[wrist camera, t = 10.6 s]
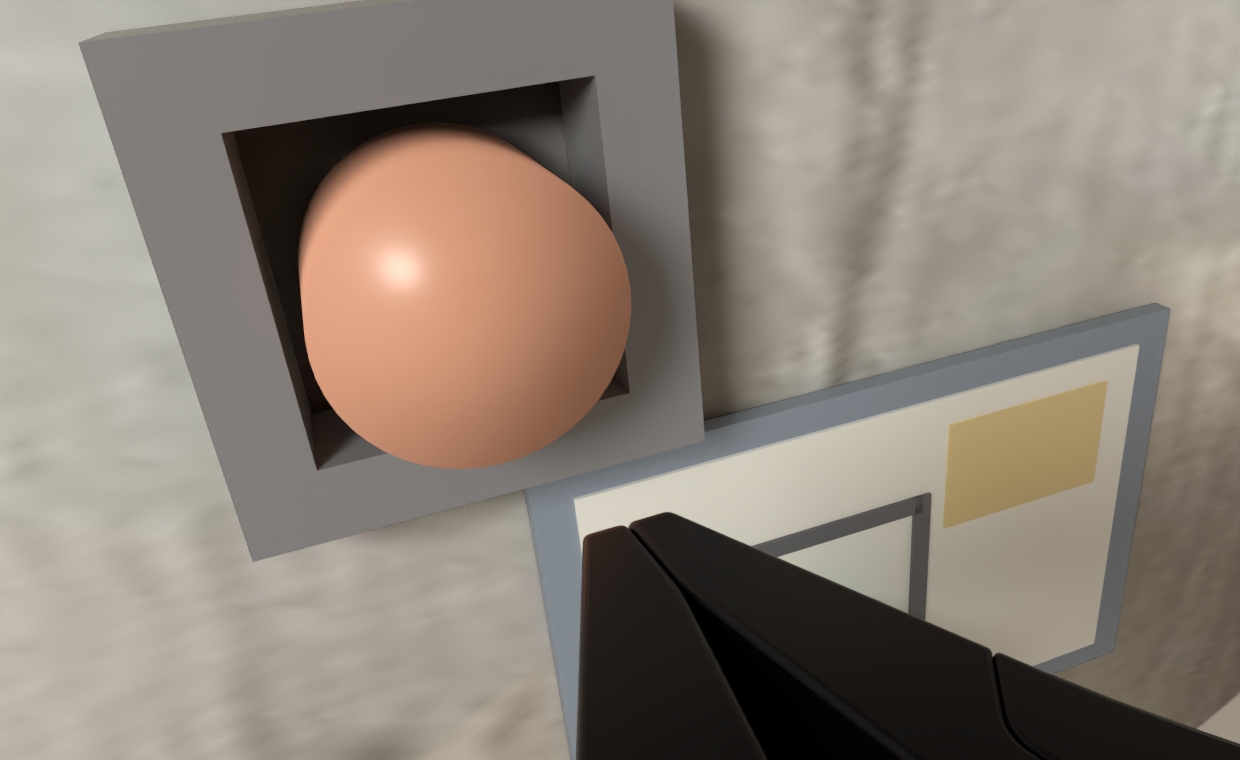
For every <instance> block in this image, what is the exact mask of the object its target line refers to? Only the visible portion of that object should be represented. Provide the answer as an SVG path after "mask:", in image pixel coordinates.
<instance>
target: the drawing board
mask: <svg viewBox="0 0 1240 760" xmlns="http://www.w3.org/2000/svg"><path fill="white" fill-rule="evenodd" d="M1169 314H1170V308H1168V307H1165V306H1162V305H1160V304H1157V303H1153V304H1149V305H1145V306H1141V307H1137V308H1134V309H1130V310H1126V311H1122V312H1118V313H1114V314H1111V315H1107V316H1103V317H1099V318H1095V319H1092V320H1088V321H1084V322H1080V323H1076V324H1072V325H1069V326H1065V327H1061V328H1057V329H1053V330H1050V331H1046V332H1042V333H1038V334H1034V335H1030V336H1027V337H1023V338H1019V339H1015V340H1011V341H1008V342H1004V343H1000V344H996V345H992V346H988V347H985V348H981V349H977V350H973V351H969V352H966V353H962V354H958V355H954V356H950V357H946V358H943V359H939V360H935V361H931V362H927V363H924V364H920V365H916V366H912V367H908V368H904V369H901V370H897V371H893V372H889V373H885V374H881V375H878V376H874V377H870V378H866V379H862V380H859V381H855V382H851V383H847V384H843V385H839V386H836V387H832V388H828V389H824V390H820V391H817V392H813V393H809V394H805V395H801V396H797V397H794V398H790V399H786V400H782V401H778V402H775V403H771V404H767V405H763V406H759V407H755V408H752V409H748V410H744V411H740V412H736V413H733V414H729V415H725V416H721V417H717V418H713V419H710V420H706V421H704V433H705V441H702V442H699V443H695V444H691V445H687V446H684V447H680V448H676V449H673V450H669V451H665V452H661V453H658V454H654V455H650V456H646V457H643V458H639V459H635V460H631V461H628V462H624V463H620V464H617V465H613V466H609V467H605V468H602V469H598V470H594V471H590V472H587V473H583V474H579V475H575V476H572V477H568V478H564V479H561V480H557V481H553V482H549V483H546V484H542V485H538V486H534V487H531V488H527V489H524V491H525V497H526V503H527V509H528V514H529V520H530V526H531V532H532V537H533V543H534V549H535V555H536V560H537V566H538V572H539V578H540V583H541V589H542V595H543V601H544V607H545V612H546V618H547V624H548V630H549V635H550V641H551V647H552V653H553V658H554V664H555V670H556V676H557V681H558V687H559V693H560V699H561V704H562V710H563V716H564V722H565V727H566V733H567V739H568V745H569V750H570V756H571V760H576V735H577V703H578V672H579V641H580V610H581V579H582V548H583V539H584V537H585V536H586V535H588V534H591V533H594V532H598V531H601V530H605V529H608V528H612V527H615V526H619V525H623V526H626V527H627V528H628V527H629V525H630V523H631V522H633V521H636V520H639V519H643V518H646V517H650V516H653V515H656V514H660V513H663V512H671V513H674V514H677V515H679V516H682V517H684V518H686V519H689V520H691V521H693V522H696V523H698V524H700V525H703V526H705V527H707V528H710V529H712V530H714V531H717V532H719V533H721V534H724V535H726V536H728V537H731V538H733V539H735V540H738V541H740V542H742V543H745V544H747V545H750V546H752V547H754V548H757V549H759V550H761V551H764V552H766V553H768V554H771V555H773V556H775V557H778V558H780V559H782V560H785V561H787V562H789V563H792V564H794V565H796V566H799V567H801V568H803V569H806V570H808V571H810V572H813V573H815V574H817V575H820V576H822V577H824V578H827V579H829V580H831V581H834V582H836V583H838V584H841V585H843V586H845V587H848V588H850V589H852V590H855V591H857V592H859V593H862V594H864V595H866V596H869V597H871V598H873V599H876V600H878V601H880V602H883V603H885V604H887V605H890V606H892V607H894V608H897V609H899V610H901V611H904V612H906V613H908V614H911V615H913V616H915V617H918V618H920V619H922V620H925V621H927V622H929V623H932V624H934V625H936V626H939V627H941V628H943V629H946V630H948V631H950V632H953V633H955V634H957V635H960V636H962V637H964V638H967V639H969V640H972V641H974V642H976V643H979V644H981V645H983V646H986V647H988V648H989V649H990V650H991V651H992V655H993V656H994V655H995V654H996V653H1003V654H1005V655H1007V656H1010V657H1012V658H1014V659H1017V660H1019V661H1021V662H1024V663H1026V664H1028V665H1031V666H1033V667H1035V668H1038V669H1040V670H1042V671H1045V672H1047V673H1050V674H1055V673H1057V672H1060V671H1063V670H1065V669H1068V668H1071V667H1073V666H1076V665H1079V664H1081V663H1084V662H1087V661H1089V660H1092V659H1095V658H1097V657H1100V656H1103V655H1105V654H1108V653H1111V652H1113V651H1114V647H1115V641H1116V635H1117V629H1118V623H1119V617H1120V611H1121V605H1122V599H1123V593H1124V587H1125V581H1126V575H1127V569H1128V563H1129V557H1130V550H1131V544H1132V538H1133V532H1134V526H1135V520H1136V514H1137V508H1138V502H1139V496H1140V490H1141V484H1142V478H1143V472H1144V466H1145V460H1146V454H1147V447H1148V441H1149V435H1150V429H1151V423H1152V417H1153V411H1154V405H1155V399H1156V393H1157V387H1158V381H1159V375H1160V369H1161V363H1162V357H1163V351H1164V345H1165V338H1166V332H1167V326H1168V320H1169Z"/></svg>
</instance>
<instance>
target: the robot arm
mask: <svg viewBox="0 0 1240 760" xmlns="http://www.w3.org/2000/svg"><path fill="white" fill-rule="evenodd" d="M576 760H1240V744H1238V743H1235V742H1232V741H1229V740H1226V739H1223V738H1221V737H1218V736H1215V735H1212V734H1209V733H1206V732H1203V731H1200V730H1197V729H1195V728H1192V727H1189V726H1186V725H1183V724H1181V723H1178V722H1175V721H1172V720H1170V719H1167V718H1164V717H1161V716H1159V715H1156V714H1153V713H1150V712H1148V711H1145V710H1142V709H1139V708H1136V707H1134V706H1131V705H1128V704H1125V703H1123V702H1120V701H1117V700H1114V699H1112V698H1109V697H1107V696H1104V695H1102V694H1099V693H1097V692H1094V691H1092V690H1089V689H1087V688H1084V687H1082V686H1080V685H1077V684H1075V683H1072V682H1070V681H1067V680H1065V679H1062V678H1060V677H1057V676H1055V675H1052V674H1050V673H1047V672H1045V671H1042V670H1040V669H1038V668H1035V667H1033V666H1031V665H1028V664H1026V663H1024V662H1021V661H1019V660H1017V659H1014V658H1012V657H1010V656H1007V655H1005V654H1003V653H996V654H995V655H994V656H993V655H992V651H991V650H990V649H989V648H988V647H986V646H983V645H981V644H979V643H976V642H974V641H972V640H969V639H967V638H964V637H962V636H960V635H957V634H955V633H953V632H950V631H948V630H946V629H943V628H941V627H939V626H936V625H934V624H932V623H929V622H927V621H925V620H922V619H920V618H918V617H915V616H913V615H911V614H908V613H906V612H904V611H901V610H899V609H897V608H894V607H892V606H890V605H887V604H885V603H883V602H880V601H878V600H876V599H873V598H871V597H869V596H866V595H864V594H862V593H859V592H857V591H855V590H852V589H850V588H848V587H845V586H843V585H841V584H838V583H836V582H834V581H831V580H829V579H827V578H824V577H822V576H820V575H817V574H815V573H813V572H810V571H808V570H806V569H803V568H801V567H799V566H796V565H794V564H792V563H789V562H787V561H785V560H782V559H780V558H778V557H775V556H773V555H771V554H768V553H766V552H764V551H761V550H759V549H757V548H754V547H752V546H750V545H747V544H745V543H742V542H740V541H738V540H735V539H733V538H731V537H728V536H726V535H724V534H721V533H719V532H717V531H714V530H712V529H710V528H707V527H705V526H703V525H700V524H698V523H696V522H693V521H691V520H689V519H686V518H684V517H682V516H679V515H677V514H674V513H671V512H663V513H660V514H656V515H653V516H650V517H646V518H643V519H639V520H636V521H633V522H631V523H630V525H629V527H628V528H627V527H626V526H623V525H619V526H615V527H612V528H608V529H605V530H601V531H598V532H594V533H591V534H588V535H586V536H585V537H584V539H583V548H582V579H581V610H580V641H579V672H578V703H577V735H576Z"/></svg>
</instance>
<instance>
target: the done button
mask: <svg viewBox="0 0 1240 760" xmlns="http://www.w3.org/2000/svg"><path fill="white" fill-rule="evenodd" d="M298 271H299V282H300V293H301V304H302V314H303V325H304V336H305V343H306V348H307V353H308V358H309V361H310V364H311V367H312V370H313V373H314V376H315V379H316V381H317V383H318V385H319V386H320V388H321V390H322V392H323V394H324V396H325V398H326V399H327V401H328V402H329V403H330V405H331V406H332V407H333V409H334V410H335V412H336V413H337V414H338V415H339V416H340V417H341V418H342V420H343V421H344V422H345V423H346V424H347V425H348V426H349V427H350V428H351V429H352V430H354V431H355V432H356V433H357V434H359V435H360V436H361V437H362V438H364V439H365V440H366V441H368V442H369V443H371V444H373V445H374V446H376V447H378V448H379V449H381V450H383V451H384V452H387V453H389V454H391V455H394V456H396V457H398V458H401V459H403V460H406V461H410V462H413V463H417V464H420V465H424V466H431V467H437V468H446V469H470V468H483V467H488V466H493V465H498V464H503V463H506V462H509V461H512V460H515V459H518V458H522V457H524V456H526V455H528V454H530V453H533V452H535V451H537V450H539V449H541V448H543V447H545V446H546V445H548V444H550V443H551V442H553V441H555V440H556V439H558V438H559V437H560V436H562V435H563V434H564V433H566V432H567V431H568V430H570V429H571V428H572V427H573V426H575V425H576V424H577V423H578V422H579V421H580V420H581V419H582V418H583V417H584V416H585V415H586V414H587V413H588V412H589V411H590V409H591V408H592V407H593V406H594V405H595V404H596V402H597V401H598V400H599V399H600V397H601V396H602V394H603V393H604V391H605V390H606V388H607V387H608V385H609V384H610V382H611V380H612V378H613V376H614V374H615V372H616V370H617V368H618V366H619V363H620V361H621V358H622V355H623V352H624V349H625V346H626V342H627V337H628V333H629V328H630V318H631V289H630V283H629V277H628V271H627V268H626V264H625V261H624V258H623V255H622V252H621V250H620V247H619V245H618V243H617V241H616V239H615V237H614V235H613V233H612V231H611V230H610V228H609V227H608V225H607V224H606V222H605V221H604V219H603V218H602V216H601V215H600V214H599V213H598V212H597V211H596V210H595V208H594V207H593V206H592V205H591V204H590V203H589V202H588V201H587V200H586V199H585V198H584V197H583V196H582V195H580V194H579V193H578V192H577V191H576V190H575V189H573V188H572V187H571V186H569V185H568V184H567V183H565V182H564V181H562V180H561V179H560V178H558V177H557V176H555V175H554V174H553V173H551V172H550V171H548V170H547V169H546V168H544V167H543V166H541V165H540V164H539V163H537V162H536V161H534V160H533V159H532V158H530V157H529V156H527V155H526V154H525V153H523V152H522V151H520V150H519V149H517V148H516V147H514V146H513V145H511V144H510V143H508V142H507V141H505V140H504V139H501V138H499V137H497V136H495V135H493V134H491V133H489V132H486V131H483V130H480V129H477V128H474V127H471V126H466V125H460V124H454V123H440V122H429V123H419V124H411V125H407V126H403V127H398V128H394V129H392V130H389V131H387V132H384V133H381V134H379V135H376V136H374V137H373V138H371V139H369V140H367V141H365V142H363V143H362V144H360V145H359V146H357V147H356V148H354V149H353V150H352V151H350V152H349V153H348V154H346V155H345V156H344V157H343V158H342V159H341V160H340V161H339V162H338V163H337V164H336V165H335V166H334V167H333V168H332V169H331V170H330V171H329V172H328V174H327V175H326V176H325V178H324V179H323V180H322V181H321V183H320V184H319V186H318V188H317V189H316V191H315V193H314V195H313V196H312V198H311V200H310V202H309V205H308V207H307V210H306V212H305V215H304V218H303V222H302V226H301V230H300V234H299V244H298Z"/></svg>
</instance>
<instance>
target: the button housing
mask: <svg viewBox="0 0 1240 760" xmlns="http://www.w3.org/2000/svg"><path fill="white" fill-rule="evenodd" d="M79 46H80V49H81V52H82V55H83V58H84V61H85V64H86V67H87V70H88V73H89V76H90V79H91V81H92V84H93V87H94V90H95V93H96V96H97V99H98V102H99V105H100V108H101V111H102V114H103V117H104V120H105V123H106V126H107V129H108V132H109V135H110V138H111V141H112V144H113V147H114V150H115V153H116V156H117V159H118V162H119V165H120V168H121V171H122V174H123V177H124V180H125V183H126V186H127V189H128V192H129V195H130V198H131V201H132V203H133V206H134V209H135V212H136V215H137V218H138V221H139V224H140V227H141V230H142V233H143V236H144V239H145V242H146V245H147V248H148V251H149V254H150V257H151V260H152V263H153V266H154V269H155V272H156V275H157V278H158V281H159V284H160V287H161V290H162V293H163V296H164V299H165V302H166V305H167V308H168V311H169V314H170V317H171V320H172V323H173V325H174V328H175V331H176V334H177V337H178V340H179V343H180V346H181V349H182V352H183V355H184V358H185V361H186V364H187V367H188V370H189V373H190V376H191V379H192V382H193V385H194V388H195V391H196V394H197V397H198V400H199V403H200V406H201V409H202V412H203V415H204V418H205V421H206V424H207V427H208V430H209V433H210V436H211V439H212V442H213V444H214V447H215V450H216V453H217V456H218V459H219V462H220V465H221V468H222V471H223V474H224V477H225V480H226V483H227V486H228V489H229V492H230V495H231V498H232V501H233V504H234V507H235V510H236V513H237V516H238V519H239V522H240V525H241V528H242V531H243V534H244V537H245V540H246V543H247V546H248V549H249V552H250V555H251V558H252V561H253V562H254V561H258V560H262V559H265V558H269V557H273V556H277V555H280V554H284V553H288V552H292V551H295V550H299V549H303V548H307V547H310V546H314V545H318V544H321V543H325V542H329V541H333V540H336V539H340V538H344V537H348V536H351V535H355V534H359V533H363V532H366V531H370V530H374V529H378V528H381V527H385V526H389V525H392V524H396V523H400V522H404V521H407V520H411V519H415V518H419V517H422V516H426V515H430V514H434V513H437V512H441V511H445V510H448V509H452V508H456V507H460V506H463V505H467V504H471V503H475V502H478V501H482V500H486V499H490V498H493V497H497V496H501V495H504V494H508V493H512V492H516V491H519V490H523V489H527V488H531V487H534V486H538V485H542V484H546V483H549V482H553V481H557V480H561V479H564V478H568V477H572V476H575V475H579V474H583V473H587V472H590V471H594V470H598V469H602V468H605V467H609V466H613V465H617V464H620V463H624V462H628V461H631V460H635V459H639V458H643V457H646V456H650V455H654V454H658V453H661V452H665V451H669V450H673V449H676V448H680V447H684V446H687V445H691V444H695V443H699V442H702V441H705V433H704V419H703V405H702V391H701V377H700V364H699V350H698V336H697V322H696V308H695V294H694V281H693V267H692V253H691V239H690V225H689V211H688V198H687V184H686V170H685V156H684V142H683V129H682V115H681V101H680V87H679V73H678V59H677V46H676V32H675V18H674V4H673V0H364V1H356V2H348V3H340V4H332V5H324V6H316V7H308V8H300V9H292V10H284V11H276V12H268V13H260V14H252V15H244V16H235V17H227V18H219V19H211V20H203V21H195V22H187V23H179V24H171V25H163V26H155V27H147V28H139V29H131V30H123V31H115V32H107V33H104V34H101V35H98V36H95V37H93V38H90V39H87V40H84V41H82V42H79ZM556 81H558V84H559V92H560V100H561V108H562V116H563V124H564V132H565V140H566V148H567V156H568V163H569V171H570V179H571V187H572V188H573V189H575V190H576V191H577V192H578V193H579V194H580V195H582V196H583V197H584V198H585V199H586V200H587V201H588V202H589V203H590V204H591V205H592V206H593V207H594V208H595V210H596V211H597V212H598V213H599V214H600V215H601V216H602V218H603V219H604V221H605V222H606V224H607V225H608V227H609V228H610V230H611V231H612V233H613V235H614V237H615V239H616V241H617V243H618V245H619V247H620V250H621V252H622V255H623V258H624V261H625V264H626V268H627V271H628V277H629V283H630V289H631V318H630V328H629V333H628V337H627V342H626V346H625V349H624V352H623V355H622V358H621V361H620V363H619V366H618V368H617V370H616V372H615V374H614V376H613V378H612V380H611V382H610V384H609V385H608V387H607V388H606V390H605V391H604V393H603V394H602V396H601V397H600V399H599V400H598V401H597V402H596V404H595V405H594V406H593V407H592V408H591V409H590V411H589V412H588V413H587V414H586V415H585V416H584V417H583V418H582V419H581V420H580V421H579V422H578V423H577V424H576V425H575V426H573V427H572V428H571V429H570V430H568V431H567V432H566V433H564V434H563V435H562V436H560V437H559V438H558V439H556V440H555V441H553V442H551V443H550V444H548V445H546V446H545V447H543V448H541V449H539V450H537V451H535V452H533V453H530V454H528V455H526V456H524V457H522V458H518V459H515V460H512V461H509V462H506V463H503V464H498V465H493V466H488V467H483V468H470V469H446V468H437V467H431V466H424V465H420V464H417V463H413V462H410V461H406V460H403V459H401V458H398V457H396V456H394V455H391V454H389V453H387V452H384V451H383V450H381V449H379V448H378V447H376V446H374V445H373V444H371V443H369V442H368V441H366V440H365V439H364V438H362V437H361V436H360V435H359V434H357V433H356V432H355V431H354V430H352V429H351V428H350V427H349V426H348V425H347V424H346V423H345V422H344V421H343V420H342V418H341V417H340V416H339V415H338V414H337V413H336V412H335V410H334V409H329V410H325V411H321V412H316V413H311V409H310V406H309V402H308V399H307V395H306V391H305V388H304V384H303V381H302V377H301V373H300V370H299V366H298V363H297V359H296V355H295V352H294V348H293V345H292V341H291V338H290V334H289V330H288V327H287V323H286V320H285V316H284V312H283V309H282V305H281V302H280V298H279V295H278V291H277V287H276V284H275V280H274V277H273V273H272V269H271V266H270V262H269V259H268V255H267V251H266V248H265V244H264V241H263V237H262V234H261V230H260V226H259V223H258V219H257V216H256V212H255V208H254V205H253V201H252V198H251V194H250V190H249V187H248V183H247V180H246V176H245V173H244V169H243V165H242V162H241V158H240V155H239V151H238V147H237V144H236V140H235V137H234V133H233V131H238V130H245V129H251V128H258V127H264V126H271V125H277V124H284V123H290V122H297V121H303V120H310V119H316V118H323V117H329V116H336V115H342V114H348V113H355V112H361V111H368V110H374V109H381V108H387V107H394V106H400V105H407V104H413V103H420V102H426V101H433V100H439V99H446V98H452V97H459V96H465V95H471V94H478V93H484V92H491V91H497V90H504V89H510V88H517V87H523V86H530V85H536V84H543V83H549V82H556Z"/></svg>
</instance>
